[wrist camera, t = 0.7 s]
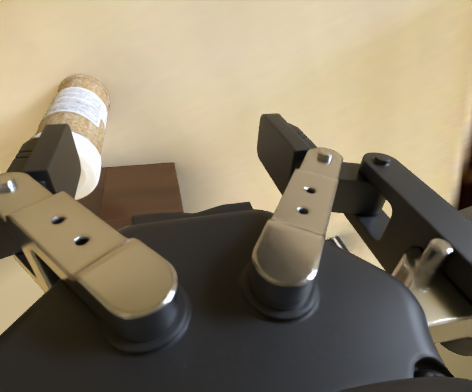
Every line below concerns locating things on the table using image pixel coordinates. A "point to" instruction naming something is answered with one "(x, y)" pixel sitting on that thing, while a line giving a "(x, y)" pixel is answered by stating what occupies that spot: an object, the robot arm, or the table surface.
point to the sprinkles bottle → (82, 124)
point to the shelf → (134, 193)
